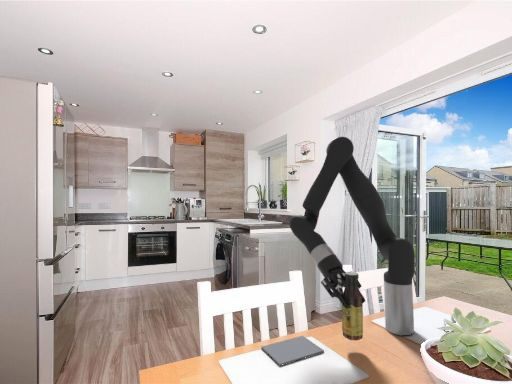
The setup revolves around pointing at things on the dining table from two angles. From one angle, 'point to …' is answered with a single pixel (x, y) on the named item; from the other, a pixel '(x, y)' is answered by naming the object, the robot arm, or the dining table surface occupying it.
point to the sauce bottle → (352, 309)
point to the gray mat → (292, 350)
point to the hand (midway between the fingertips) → (356, 304)
